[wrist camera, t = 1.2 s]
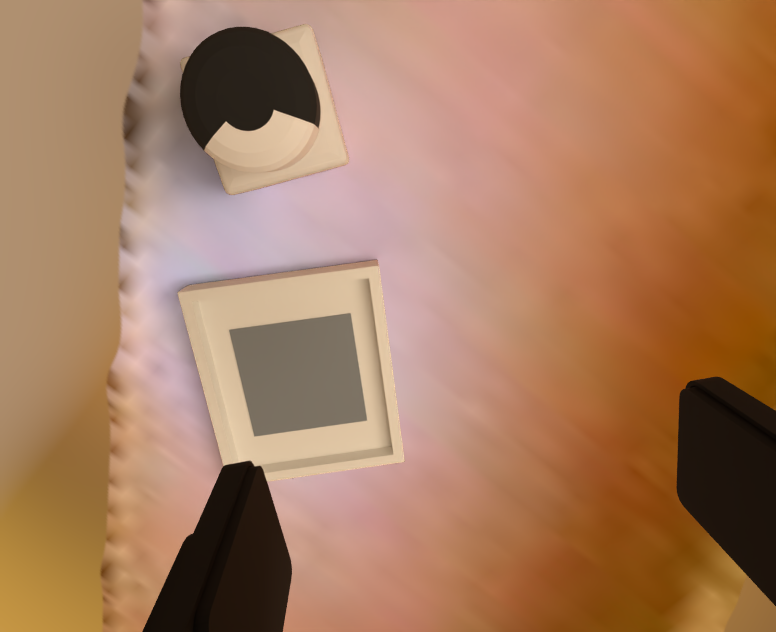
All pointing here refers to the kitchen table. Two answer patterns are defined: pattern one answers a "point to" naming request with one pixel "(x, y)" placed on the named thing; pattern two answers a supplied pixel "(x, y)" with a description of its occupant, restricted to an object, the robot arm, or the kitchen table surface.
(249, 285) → the tray
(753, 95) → the kitchen table surface
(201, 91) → the medicine bottle
